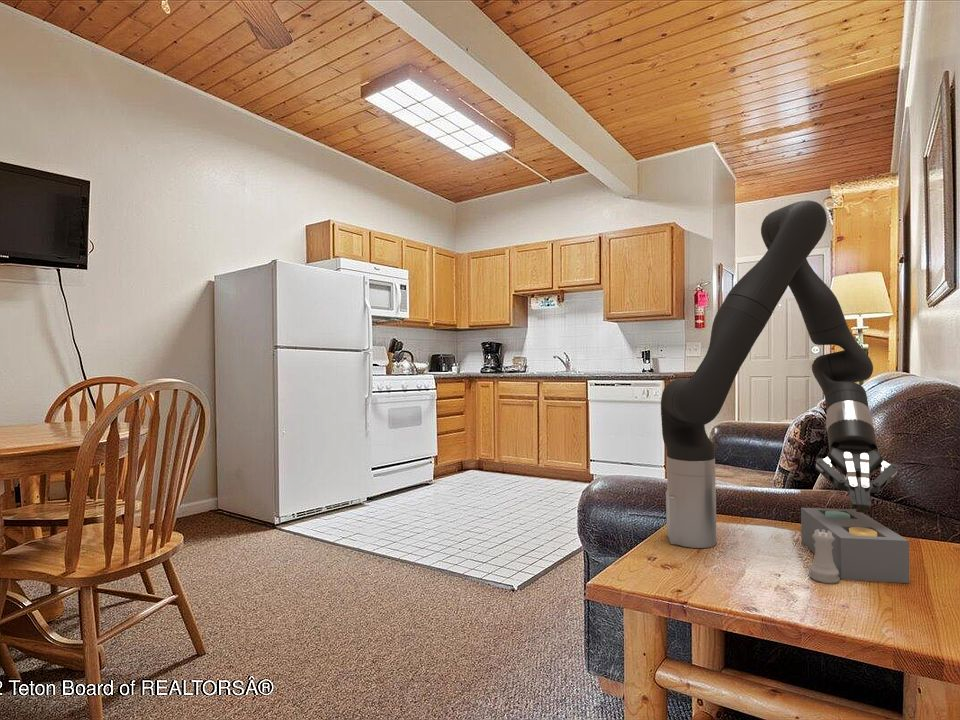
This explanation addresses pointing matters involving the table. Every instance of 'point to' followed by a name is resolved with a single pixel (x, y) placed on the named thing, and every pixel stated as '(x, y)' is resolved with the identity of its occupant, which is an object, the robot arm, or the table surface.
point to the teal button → (837, 514)
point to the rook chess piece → (823, 559)
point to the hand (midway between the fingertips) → (861, 510)
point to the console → (859, 546)
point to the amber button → (862, 531)
